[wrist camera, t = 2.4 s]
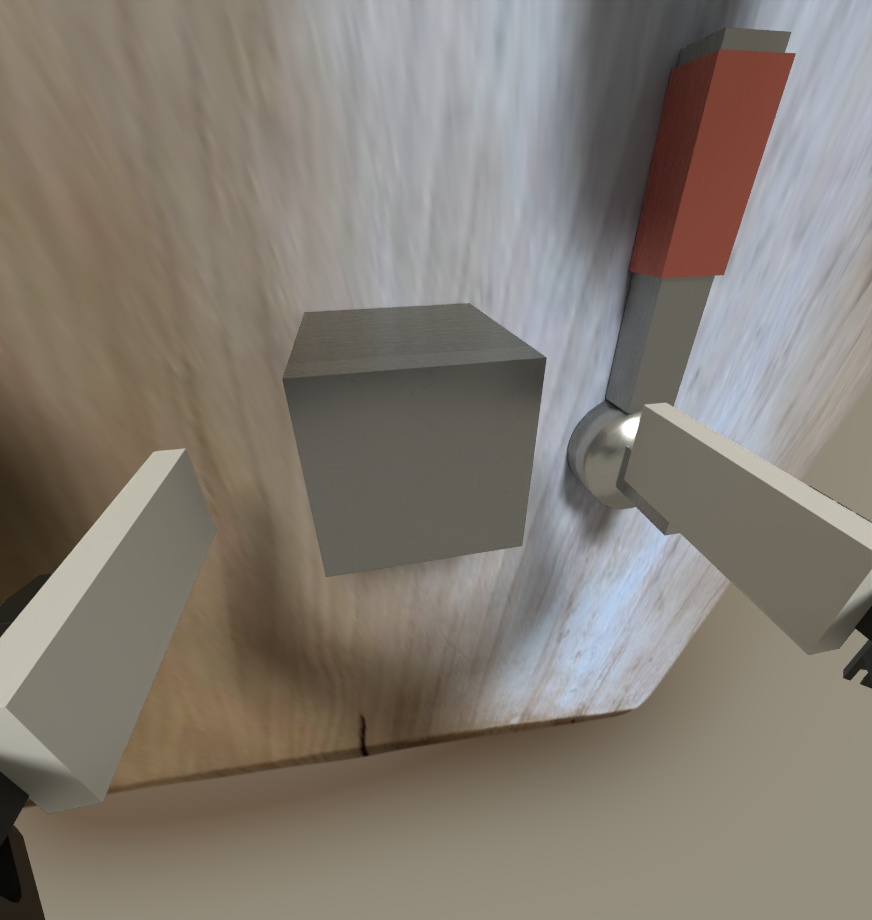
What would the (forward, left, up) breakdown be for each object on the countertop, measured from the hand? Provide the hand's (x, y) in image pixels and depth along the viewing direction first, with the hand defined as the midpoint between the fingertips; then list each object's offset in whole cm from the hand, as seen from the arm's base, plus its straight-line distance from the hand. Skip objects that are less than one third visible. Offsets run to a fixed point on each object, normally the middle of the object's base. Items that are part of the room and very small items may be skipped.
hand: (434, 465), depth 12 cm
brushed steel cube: (0, 0, -6) cm, 6 cm away
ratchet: (+11, +2, -6) cm, 12 cm away
